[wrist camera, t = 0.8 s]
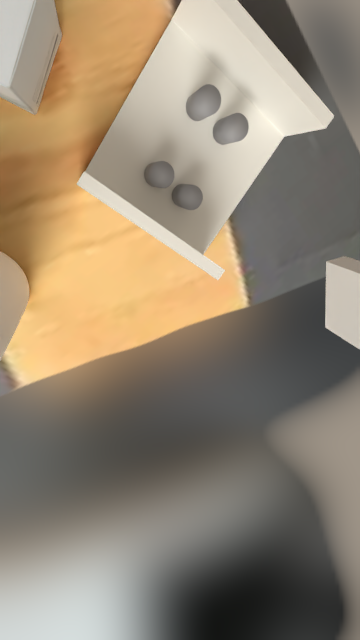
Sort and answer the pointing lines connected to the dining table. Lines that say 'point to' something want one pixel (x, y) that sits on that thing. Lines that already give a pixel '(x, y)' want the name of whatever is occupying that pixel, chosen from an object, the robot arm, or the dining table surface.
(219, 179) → the peg frame
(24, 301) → the milk bottle
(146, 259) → the dining table surface
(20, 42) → the skincare box
